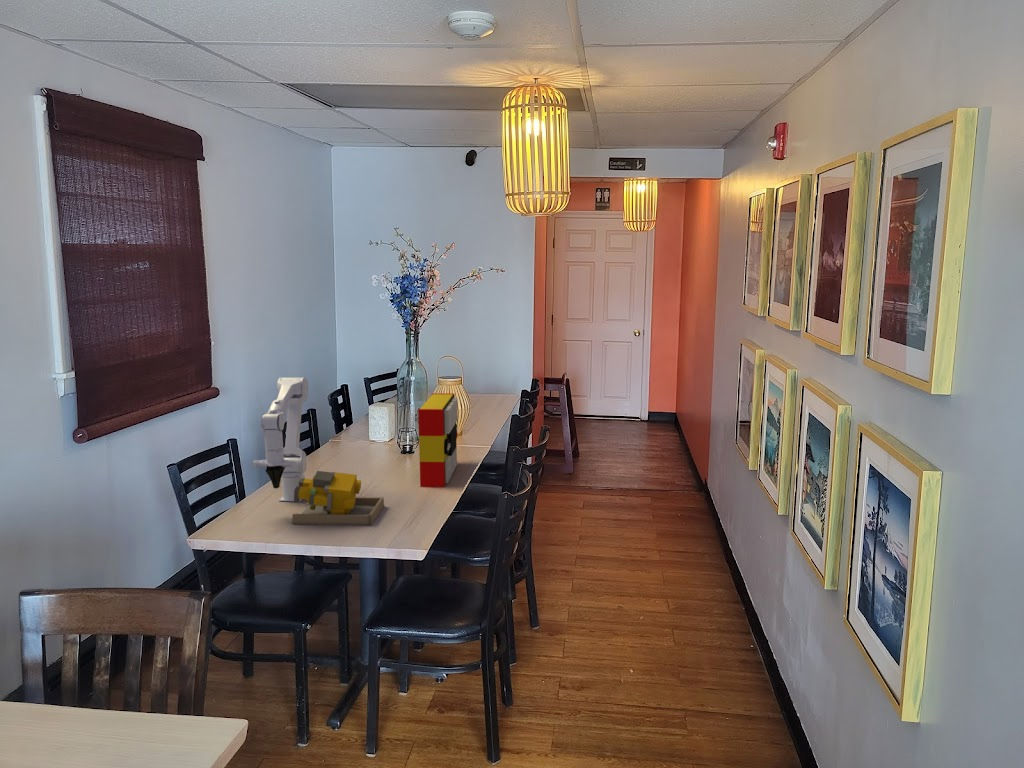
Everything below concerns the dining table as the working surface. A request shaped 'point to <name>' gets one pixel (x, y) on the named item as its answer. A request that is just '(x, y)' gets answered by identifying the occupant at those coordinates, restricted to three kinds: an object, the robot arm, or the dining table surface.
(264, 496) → the dining table surface
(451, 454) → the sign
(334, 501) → the toy
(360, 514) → the tray
